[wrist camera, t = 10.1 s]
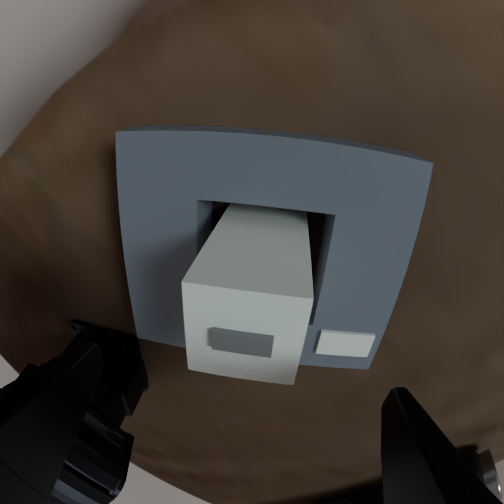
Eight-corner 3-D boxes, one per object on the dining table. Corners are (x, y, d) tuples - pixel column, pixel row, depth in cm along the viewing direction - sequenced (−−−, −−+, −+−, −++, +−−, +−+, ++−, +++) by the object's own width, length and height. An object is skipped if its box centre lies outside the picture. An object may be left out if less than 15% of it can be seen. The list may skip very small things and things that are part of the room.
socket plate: (154, 309, 20) (136, 339, 18) (144, 125, 15) (113, 132, 12) (361, 336, 19) (368, 371, 16) (410, 152, 14) (435, 164, 11)
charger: (228, 268, 18) (186, 373, 11) (230, 202, 16) (178, 285, 9) (296, 276, 18) (292, 389, 11) (306, 211, 16) (314, 303, 9)
